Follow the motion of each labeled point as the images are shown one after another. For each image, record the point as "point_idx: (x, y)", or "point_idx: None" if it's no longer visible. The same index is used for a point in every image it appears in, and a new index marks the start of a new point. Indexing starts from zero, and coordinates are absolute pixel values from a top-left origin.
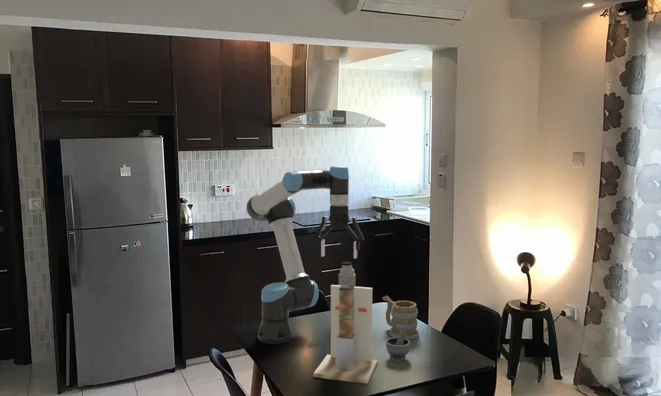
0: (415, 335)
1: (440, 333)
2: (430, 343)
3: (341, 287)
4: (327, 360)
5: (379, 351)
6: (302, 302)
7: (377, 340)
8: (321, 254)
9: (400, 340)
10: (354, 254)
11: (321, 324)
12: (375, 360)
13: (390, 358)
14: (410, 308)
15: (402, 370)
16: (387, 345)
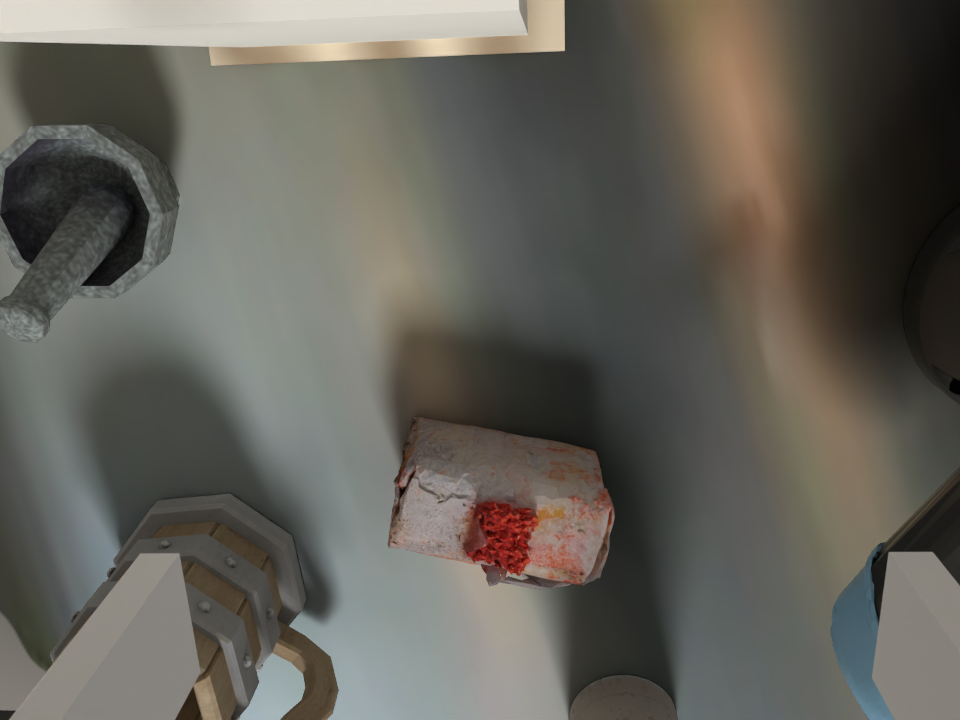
0: (125, 543)
1: (27, 641)
2: (29, 482)
3: None
4: None
5: (271, 272)
6: (949, 493)
7: (338, 443)
8: (945, 577)
9: (61, 234)
10: (124, 606)
11: (766, 607)
12: (219, 53)
13: (164, 167)
14: (66, 645)
15: None
16: (134, 151)
